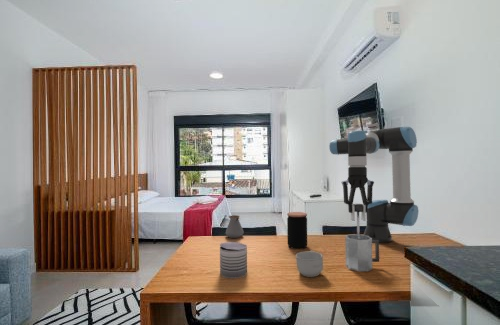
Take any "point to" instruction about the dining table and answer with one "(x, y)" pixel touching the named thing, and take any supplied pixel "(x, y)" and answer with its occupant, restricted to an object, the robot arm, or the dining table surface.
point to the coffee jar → (297, 230)
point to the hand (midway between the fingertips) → (358, 220)
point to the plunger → (358, 209)
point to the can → (233, 260)
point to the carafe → (360, 252)
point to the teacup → (309, 263)
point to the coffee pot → (234, 227)
